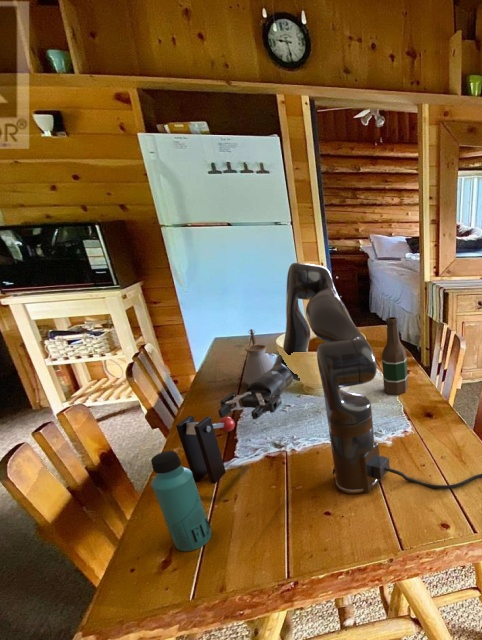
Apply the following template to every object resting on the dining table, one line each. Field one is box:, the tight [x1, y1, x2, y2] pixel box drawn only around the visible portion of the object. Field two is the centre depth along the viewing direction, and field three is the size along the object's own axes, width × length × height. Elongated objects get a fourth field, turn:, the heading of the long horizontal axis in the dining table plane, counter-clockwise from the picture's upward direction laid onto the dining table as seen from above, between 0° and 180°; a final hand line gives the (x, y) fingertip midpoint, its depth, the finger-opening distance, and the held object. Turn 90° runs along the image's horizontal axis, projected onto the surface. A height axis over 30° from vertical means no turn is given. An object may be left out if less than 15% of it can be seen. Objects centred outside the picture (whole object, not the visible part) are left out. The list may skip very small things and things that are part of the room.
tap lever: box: [186, 416, 236, 435], centre depth 99 cm, size 14×4×4 cm, turn 173°
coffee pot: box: [242, 328, 274, 386], centre depth 149 cm, size 21×12×15 cm, turn 25°
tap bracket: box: [175, 415, 227, 485], centre depth 96 cm, size 12×10×16 cm
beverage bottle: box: [150, 450, 213, 552], centre depth 78 cm, size 6×7×20 cm
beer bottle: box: [381, 316, 409, 396], centre depth 138 cm, size 8×8×24 cm
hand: (236, 415), depth 109 cm, fingers open, 8 cm apart
